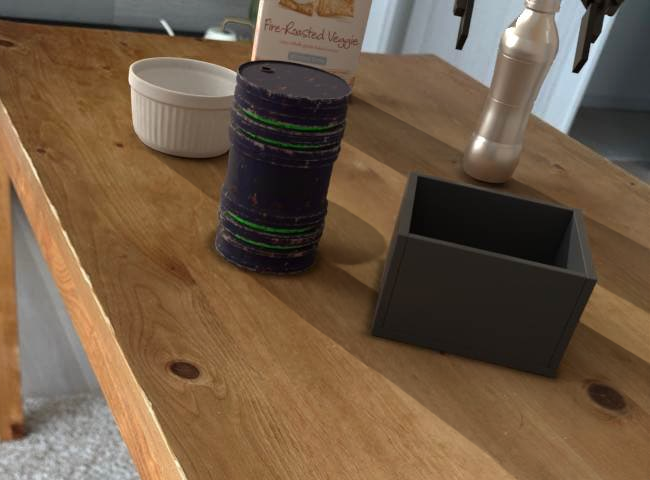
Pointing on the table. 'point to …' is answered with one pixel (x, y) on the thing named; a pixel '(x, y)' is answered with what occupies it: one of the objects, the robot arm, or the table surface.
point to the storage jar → (280, 164)
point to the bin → (485, 275)
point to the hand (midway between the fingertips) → (520, 54)
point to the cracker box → (313, 33)
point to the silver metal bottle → (513, 92)
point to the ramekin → (182, 105)
